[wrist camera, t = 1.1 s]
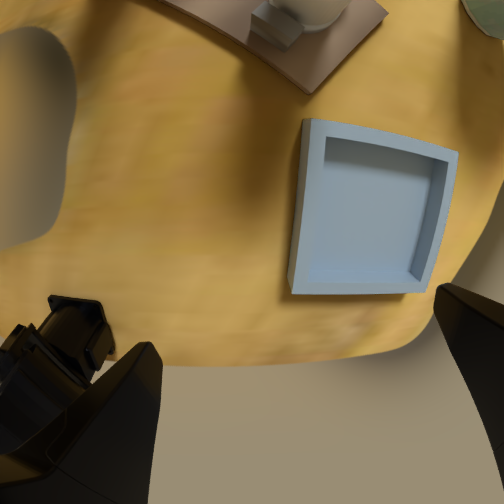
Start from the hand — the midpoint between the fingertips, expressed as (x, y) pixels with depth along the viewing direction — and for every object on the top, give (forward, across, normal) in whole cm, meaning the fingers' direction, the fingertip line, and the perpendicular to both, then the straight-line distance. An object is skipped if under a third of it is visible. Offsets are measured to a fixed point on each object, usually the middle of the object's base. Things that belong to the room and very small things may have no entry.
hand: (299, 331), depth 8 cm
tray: (+14, -8, +2) cm, 16 cm away
